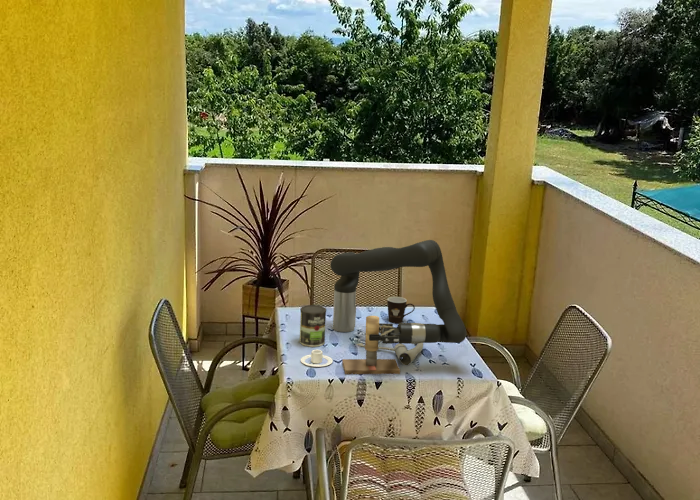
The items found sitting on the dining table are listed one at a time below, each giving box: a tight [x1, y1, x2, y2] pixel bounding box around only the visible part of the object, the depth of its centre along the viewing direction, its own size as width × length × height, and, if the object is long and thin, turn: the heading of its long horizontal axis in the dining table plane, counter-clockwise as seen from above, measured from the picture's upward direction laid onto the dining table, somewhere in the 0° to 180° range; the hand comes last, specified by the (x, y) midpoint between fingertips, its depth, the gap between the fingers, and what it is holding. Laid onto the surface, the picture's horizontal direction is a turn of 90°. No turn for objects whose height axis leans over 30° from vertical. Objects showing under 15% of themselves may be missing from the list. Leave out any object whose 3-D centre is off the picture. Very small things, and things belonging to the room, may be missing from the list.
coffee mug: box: [386, 296, 416, 325], centre depth 296 cm, size 12×9×10 cm
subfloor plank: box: [342, 358, 401, 375], centre depth 246 cm, size 20×10×2 cm, turn 97°
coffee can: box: [299, 304, 327, 348], centre depth 267 cm, size 10×10×14 cm
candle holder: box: [300, 349, 334, 368], centre depth 250 cm, size 12×12×4 cm
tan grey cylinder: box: [364, 315, 380, 366], centre depth 244 cm, size 5×5×18 cm
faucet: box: [355, 342, 424, 366], centre depth 267 cm, size 5×28×28 cm
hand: (367, 333), depth 243 cm, fingers open, 8 cm apart
